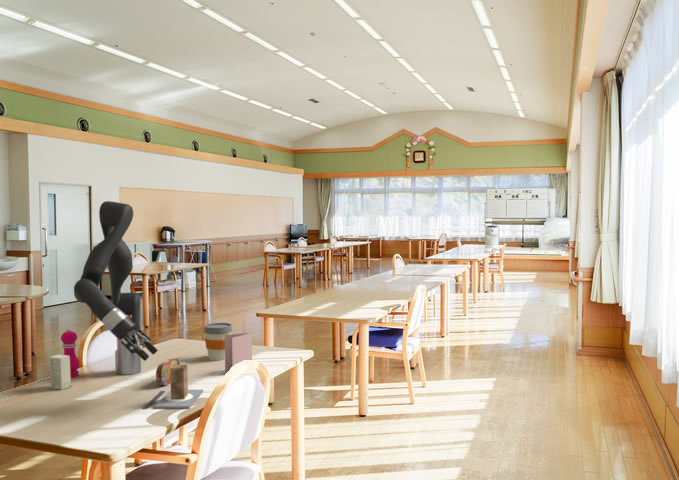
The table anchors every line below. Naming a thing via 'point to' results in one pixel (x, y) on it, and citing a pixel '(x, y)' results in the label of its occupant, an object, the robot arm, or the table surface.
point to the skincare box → (60, 371)
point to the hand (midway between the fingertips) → (151, 355)
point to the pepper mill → (71, 350)
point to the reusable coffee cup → (216, 339)
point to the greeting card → (237, 349)
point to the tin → (165, 371)
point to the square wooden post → (179, 382)
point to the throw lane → (174, 400)
